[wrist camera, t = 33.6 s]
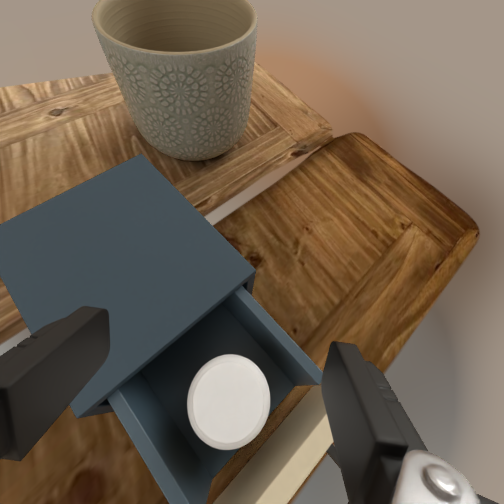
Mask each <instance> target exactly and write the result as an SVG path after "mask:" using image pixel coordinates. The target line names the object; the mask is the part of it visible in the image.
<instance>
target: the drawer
mask: <svg viewBox="0 0 504 504" xmlns="http://www.w3.org/2000/svg"><path fill="white" fill-rule="evenodd" d="M227 354H234V355H240V356H243V357H245V358H247V359H249V360H251V361H252V362H253V363H254V364H256V365H257V366H258V367H259V369H260V370H261V371H262V373H263V374H264V376H265V378H266V381H267V383H268V386H269V391H270V410H269V414H268V416H269V415H270V414H271V412H272V411H273V410H274V409H275V408H276V407H277V406H278V405H279V403H280V402H281V401H282V400H283V399H284V398H285V397H286V396H287V394H288V393H289V392H290V391H291V390H292V389H293V388H294V387H295V386H302V385H319V384H320V383H321V381H322V375H323V372H322V371H321V370H320V369H319V368H318V367H317V366H316V364H315V363H314V362H313V361H312V360H311V359H310V358H309V357H308V356H307V355H306V354H305V353H304V352H303V351H302V349H301V348H300V347H299V346H298V345H297V344H296V343H295V342H294V341H293V340H292V339H291V338H290V337H289V336H288V334H287V333H286V332H285V331H284V330H283V329H282V328H281V327H280V326H279V325H278V324H277V323H276V322H275V321H274V319H273V318H272V317H271V316H270V315H269V314H268V313H267V312H266V311H265V310H264V309H263V308H262V307H261V306H260V305H259V303H258V302H257V301H256V300H255V299H254V298H253V297H252V296H251V295H250V294H249V293H248V292H247V291H246V290H245V288H244V287H243V286H241V287H240V288H238V289H237V290H236V291H235V292H234V293H232V294H231V295H230V296H229V297H228V298H226V299H225V300H224V301H223V302H222V303H220V304H219V305H218V306H217V307H216V308H214V309H213V310H212V311H211V312H210V313H208V314H207V315H206V316H205V317H204V318H202V319H201V320H200V321H199V322H198V323H196V324H195V325H194V326H193V327H192V328H190V329H189V330H188V331H187V332H186V333H184V334H183V335H182V336H181V337H180V338H178V339H177V340H176V341H175V342H174V343H172V344H171V345H170V346H169V347H168V348H166V349H165V350H164V351H163V352H162V353H160V354H159V355H158V356H157V357H156V358H154V359H153V360H152V361H151V362H150V363H148V364H147V365H146V366H145V367H144V368H142V369H141V370H140V371H139V372H138V373H136V374H135V375H134V376H133V377H132V378H130V379H129V380H128V381H127V382H126V383H124V384H123V385H122V386H121V387H120V388H118V389H117V390H116V391H115V392H114V393H112V394H111V395H110V396H109V397H108V398H107V400H108V401H109V403H110V405H111V406H112V408H113V410H114V411H115V413H116V415H117V416H118V418H119V420H120V422H121V423H122V425H123V427H124V428H125V430H126V432H127V433H128V435H129V437H130V438H131V440H132V442H133V443H134V445H135V447H136V448H137V450H138V452H139V453H140V455H141V457H142V459H143V460H144V462H145V464H146V465H147V467H148V469H149V470H150V472H151V474H152V475H153V477H154V479H155V480H156V482H157V484H158V485H159V487H160V489H161V490H162V492H163V494H164V496H165V497H166V499H167V501H168V502H169V504H206V502H207V498H208V494H209V490H210V486H211V482H212V479H213V478H214V477H215V475H216V474H217V473H218V472H219V471H220V470H221V469H222V468H223V466H224V465H225V464H226V463H227V462H228V461H229V460H230V459H231V457H232V456H233V455H234V454H235V453H236V452H237V451H238V450H239V448H237V449H232V450H221V449H216V448H214V447H211V446H209V445H208V444H206V443H205V442H203V441H202V440H201V439H200V438H199V437H198V436H197V434H196V433H195V431H194V430H193V428H192V426H191V423H190V420H189V417H188V411H187V398H188V392H189V388H190V386H191V383H192V381H193V379H194V377H195V375H196V374H197V372H198V371H199V370H200V369H201V368H202V367H203V366H204V365H205V364H206V363H207V362H209V361H210V360H212V359H214V358H216V357H218V356H222V355H227ZM332 443H333V437H332V433H331V429H330V425H329V421H328V417H327V413H326V409H325V405H324V401H323V397H322V391H321V386H313V387H312V388H311V389H310V390H309V392H308V393H307V394H306V395H305V396H304V397H303V399H302V400H301V401H300V402H299V403H298V404H297V406H296V407H295V408H294V409H293V410H292V411H291V413H290V414H289V415H288V416H287V417H286V418H285V420H284V421H283V422H282V423H281V424H280V425H279V427H278V428H277V429H276V430H275V431H274V432H273V434H272V435H271V436H270V437H269V438H268V439H267V441H266V442H265V443H264V444H263V445H262V446H261V448H260V449H259V450H258V451H257V452H256V453H255V455H254V456H253V457H252V458H251V459H250V460H249V462H248V463H247V464H246V465H245V466H244V467H243V469H242V470H241V471H240V472H239V473H238V474H237V476H236V477H235V478H234V479H233V480H232V482H231V483H230V484H229V485H228V486H227V487H226V489H225V490H224V491H223V492H222V493H221V494H220V496H219V497H218V498H217V499H216V500H215V501H214V503H213V504H287V503H288V502H289V500H290V499H291V498H292V496H293V495H294V494H295V492H296V491H297V490H298V488H299V487H300V486H301V484H302V483H303V482H304V480H305V479H306V478H307V476H308V475H309V474H310V472H311V471H312V470H313V468H314V467H315V466H316V464H317V463H318V461H319V460H320V459H321V457H322V456H323V455H324V453H325V452H327V453H328V454H329V456H330V457H331V458H332V459H333V460H334V462H335V463H336V464H337V465H338V466H339V468H340V465H339V461H338V457H337V453H336V449H335V446H334V445H333V444H332ZM340 469H341V468H340ZM348 504H349V502H348Z"/></svg>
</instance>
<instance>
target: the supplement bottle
mask: <svg viewBox="0 0 504 504" xmlns="http://www.w3.org/2000/svg"><path fill="white" fill-rule="evenodd" d="M269 410H270V391H269V386H268V383H267V381H266V378H265V376H264V374H263V373H262V371H261V370H260V369H259V367H258V366H257V365H256V364H254V363H253V362H252V361H251V360H249V359H247V358H245V357H243V356H240V355H234V354H227V355H222V356H218V357H216V358H214V359H212V360H210V361H209V362H207V363H206V364H205V365H204V366H203V367H202V368H201V369H200V370H199V371H198V372H197V374H196V375H195V377H194V379H193V381H192V383H191V386H190V388H189V392H188V398H187V411H188V417H189V420H190V423H191V426H192V428H193V430H194V431H195V433H196V434H197V436H198V437H199V438H200V439H201V440H202V441H203V442H205V443H206V444H208V445H209V446H211V447H214V448H216V449H221V450H232V449H237V448H240V447H242V446H244V445H246V444H248V443H249V442H251V441H252V440H253V439H254V438H255V437H256V436H257V435H258V434H259V433H260V431H261V430H262V428H263V427H264V425H265V423H266V420H267V417H268V414H269Z"/></svg>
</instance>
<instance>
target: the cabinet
mask: <svg viewBox="0 0 504 504" xmlns="http://www.w3.org/2000/svg"><path fill="white" fill-rule="evenodd" d="M255 273H256V270H255V269H254V268H253V267H252V266H251V265H250V264H249V263H248V261H247V260H246V259H245V258H244V257H243V256H242V255H241V254H240V253H239V252H238V251H237V250H236V249H235V248H234V247H233V246H232V245H231V244H230V243H229V242H228V241H227V240H226V239H225V238H224V237H223V236H222V235H221V234H220V233H219V232H218V231H217V230H216V229H215V228H214V227H213V226H212V225H211V224H210V223H209V222H208V221H207V220H206V219H205V218H204V217H203V216H202V215H201V214H200V213H199V212H198V211H197V210H196V209H195V208H194V207H193V206H192V205H191V204H190V203H189V202H188V201H187V199H186V198H185V197H184V196H183V195H182V194H181V193H180V192H179V191H178V190H177V189H176V188H175V187H174V186H173V185H172V184H171V183H170V182H169V181H168V180H167V179H166V178H165V177H164V176H163V175H162V174H161V173H160V172H159V171H158V170H157V169H156V168H155V167H154V166H153V165H152V164H151V163H150V162H149V161H148V160H147V159H146V158H145V157H144V156H143V155H142V154H139V155H137V156H135V157H133V158H131V159H129V160H127V161H125V162H123V163H121V164H119V165H117V166H115V167H113V168H111V169H109V170H107V171H105V172H103V173H101V174H99V175H97V176H95V177H93V178H91V179H89V180H87V181H86V182H84V183H82V184H80V185H78V186H76V187H74V188H72V189H70V190H68V191H66V192H64V193H62V194H60V195H58V196H56V197H54V198H52V199H50V200H48V201H46V202H44V203H42V204H40V205H38V206H36V207H34V208H32V209H30V210H28V211H26V212H24V213H22V214H20V215H18V216H16V217H14V218H12V219H10V220H8V221H6V222H4V223H2V224H0V277H1V278H2V280H3V282H4V284H5V286H6V288H7V290H8V292H9V293H10V295H11V297H12V299H13V301H14V303H15V305H16V306H17V308H18V310H19V312H20V314H21V316H22V318H23V319H24V321H25V323H26V325H27V327H28V329H29V330H30V332H31V334H33V333H35V332H36V331H38V330H39V329H41V328H42V327H43V326H45V325H47V324H50V323H52V322H54V321H57V320H59V319H62V318H66V317H67V316H69V315H70V314H71V313H73V312H74V311H76V310H77V309H78V308H80V307H82V306H89V307H96V308H103V309H107V310H108V312H109V327H110V351H109V354H108V357H107V359H106V361H105V363H104V364H103V365H102V366H101V368H100V369H99V370H98V371H97V372H96V374H95V375H94V376H93V377H92V378H91V379H90V381H89V382H88V383H87V384H86V385H85V386H84V388H83V389H82V390H81V391H80V392H79V393H78V395H77V396H76V397H75V398H74V399H73V400H72V402H71V403H70V404H69V405H70V407H71V409H72V411H73V413H74V414H75V416H76V418H82V417H87V416H92V415H97V414H103V413H108V412H113V411H114V410H113V408H112V406H111V405H110V403H109V401H108V400H107V398H108V397H109V396H110V395H111V394H112V393H114V392H115V391H116V390H117V389H118V388H120V387H121V386H122V385H123V384H124V383H126V382H127V381H128V380H129V379H130V378H132V377H133V376H134V375H135V374H136V373H138V372H139V371H140V370H141V369H142V368H144V367H145V366H146V365H147V364H148V363H150V362H151V361H152V360H153V359H154V358H156V357H157V356H158V355H159V354H160V353H162V352H163V351H164V350H165V349H166V348H168V347H169V346H170V345H171V344H172V343H174V342H175V341H176V340H177V339H178V338H180V337H181V336H182V335H183V334H184V333H186V332H187V331H188V330H189V329H190V328H192V327H193V326H194V325H195V324H196V323H198V322H199V321H200V320H201V319H202V318H204V317H205V316H206V315H207V314H208V313H210V312H211V311H212V310H213V309H214V308H216V307H217V306H218V305H219V304H220V303H222V302H223V301H224V300H225V299H226V298H228V297H229V296H230V295H231V294H232V293H234V292H235V291H236V290H237V289H238V288H240V287H241V286H243V287H244V288H245V290H246V291H247V292H248V293H249V294H250V295H252V289H253V284H254V278H255Z"/></svg>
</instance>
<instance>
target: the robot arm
mask: <svg viewBox="0 0 504 504" xmlns="http://www.w3.org/2000/svg"><path fill="white" fill-rule="evenodd" d="M109 351H110V327H109V312H108V310H107V309H103V308H96V307H89V306H82V307H80V308H78V309H77V310H76V311H74V312H73V313H71V314H70V315H69V316H67V317H66V318H62V319H59V320H57V321H54V322H52V323H50V324H47V325H45V326H43V327H42V328H41V329H39V330H38V331H36V332H35V333H33V334H32V335H31V336H30V338H26V339H25V340H23V341H22V342H20V343H19V344H18V345H17V347H13V348H12V349H10V350H9V351H7V352H6V353H4V354H3V355H1V356H0V459H8V460H15V461H21V460H22V459H23V458H24V457H25V456H26V454H27V453H28V452H29V451H30V450H31V449H32V447H33V446H34V445H35V444H36V443H37V442H38V440H39V439H40V438H41V437H42V436H43V435H44V433H45V432H46V431H47V430H48V429H49V427H50V426H51V425H52V424H53V423H54V422H55V420H56V419H57V418H58V417H59V416H60V415H61V413H62V412H63V411H64V410H65V409H66V408H67V406H68V405H69V404H70V403H71V402H72V400H73V399H74V398H75V397H76V396H77V395H78V393H79V392H80V391H81V390H82V389H83V388H84V386H85V385H86V384H87V383H88V382H89V381H90V379H91V378H92V377H93V376H94V375H95V374H96V372H97V371H98V370H99V369H100V368H101V366H102V365H103V364H104V363H105V361H106V359H107V357H108V354H109ZM321 391H322V397H323V401H324V405H325V409H326V413H327V417H328V421H329V425H330V429H331V433H332V437H333V441H334V445H335V449H336V453H337V457H338V461H339V465H340V468H341V472H342V476H343V480H344V484H345V488H346V492H347V496H348V500H349V504H498V503H496V502H494V501H492V500H490V499H487V498H485V497H483V496H481V495H479V494H476V492H475V491H474V489H473V487H472V486H471V485H470V483H469V482H468V481H467V480H466V478H465V477H464V476H463V475H462V474H461V473H460V472H459V471H458V470H457V469H456V468H454V467H453V466H452V465H451V464H450V463H448V462H447V461H445V460H444V459H442V458H440V457H439V456H437V455H435V454H433V453H430V452H428V450H427V448H426V446H425V445H424V443H423V441H422V440H421V438H420V436H419V434H418V433H417V431H416V429H415V428H414V426H413V424H412V423H411V421H410V419H409V417H408V416H407V414H406V412H405V410H404V409H403V407H402V406H401V404H400V402H398V399H397V397H396V395H395V393H394V392H393V390H391V387H390V385H389V383H388V381H387V380H386V378H385V376H384V374H383V373H382V372H381V371H380V370H379V369H378V368H377V367H376V366H374V365H373V364H372V363H371V362H369V361H364V359H363V357H362V355H361V353H360V351H359V350H358V348H357V346H356V345H355V344H350V343H343V342H336V341H333V342H332V343H331V345H330V348H329V352H328V356H327V359H326V363H325V367H324V371H323V375H322V381H321Z"/></svg>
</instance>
